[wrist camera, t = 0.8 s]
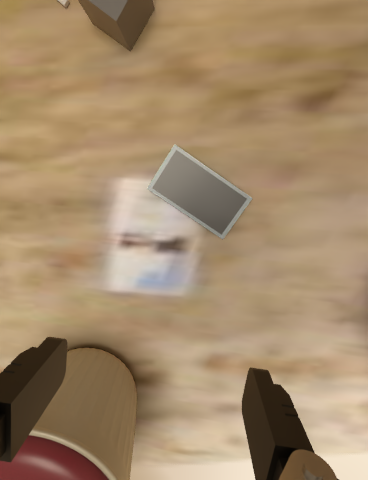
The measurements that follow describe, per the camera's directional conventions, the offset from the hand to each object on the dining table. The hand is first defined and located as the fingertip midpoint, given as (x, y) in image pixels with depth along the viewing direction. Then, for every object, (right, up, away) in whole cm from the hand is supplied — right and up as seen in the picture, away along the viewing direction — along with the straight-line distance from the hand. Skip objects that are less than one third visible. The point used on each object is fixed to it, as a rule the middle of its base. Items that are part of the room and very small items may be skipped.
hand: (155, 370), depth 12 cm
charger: (-5, +30, +18) cm, 36 cm away
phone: (+3, +12, +23) cm, 26 cm away
